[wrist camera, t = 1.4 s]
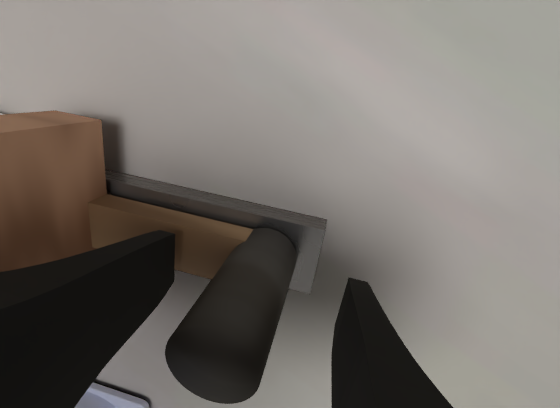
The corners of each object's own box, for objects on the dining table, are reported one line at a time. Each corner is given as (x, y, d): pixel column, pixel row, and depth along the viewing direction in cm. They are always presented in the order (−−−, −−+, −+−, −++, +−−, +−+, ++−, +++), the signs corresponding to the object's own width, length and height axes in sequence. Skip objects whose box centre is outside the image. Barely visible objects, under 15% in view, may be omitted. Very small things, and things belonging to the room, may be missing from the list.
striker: (280, 339, 13) (242, 479, 9) (77, 280, 15) (-54, 372, 10) (316, 163, 10) (288, 229, 5) (55, 110, 12) (-149, 126, 7)
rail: (312, 280, 13) (309, 294, 12) (93, 223, 15) (76, 232, 14) (326, 219, 12) (325, 230, 11) (87, 165, 14) (69, 170, 13)
